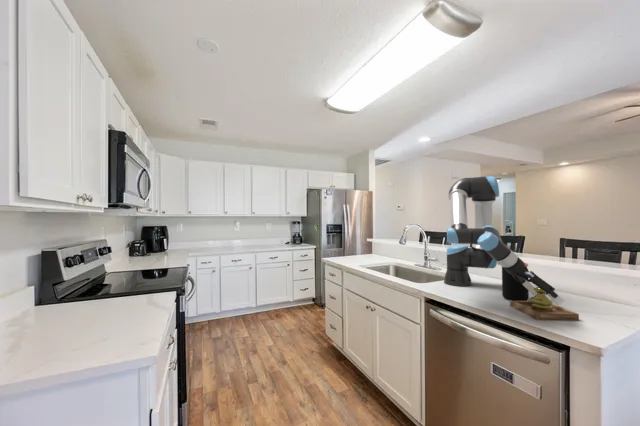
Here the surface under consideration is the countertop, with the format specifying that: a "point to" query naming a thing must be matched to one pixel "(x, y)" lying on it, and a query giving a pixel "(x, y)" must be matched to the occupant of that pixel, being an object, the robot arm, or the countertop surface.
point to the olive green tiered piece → (541, 301)
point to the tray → (557, 313)
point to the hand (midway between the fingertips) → (547, 297)
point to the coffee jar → (513, 287)
